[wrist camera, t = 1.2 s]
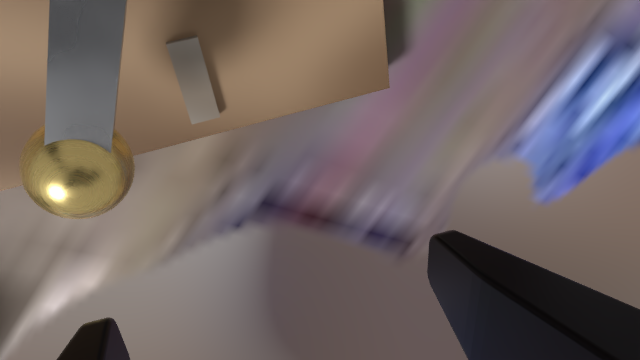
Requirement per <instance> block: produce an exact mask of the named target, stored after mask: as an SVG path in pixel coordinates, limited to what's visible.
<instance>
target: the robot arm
mask: <svg viewBox="0 0 640 360" xmlns="http://www.w3.org/2000/svg"><path fill="white" fill-rule="evenodd" d="M427 273H428V279H429V282H430V285H431V287H432V289H433V291H434V293H435V295H436V297H437V299H438V301H439V303H440V305H441V307H442V309H443V311H444V313H445V315H446V317H447V319H448V321H449V323H450V325H451V327H452V329H453V331H454V333H455V335H456V337H457V339H458V341H459V342H460V345H461V347H462V349H463V351H464V352H465V354H466V356H467V358H468V360H640V309H638V308H635V307H633V306H631V305H628V304H625V303H624V302H621V301H619V300H617V299H614V298H612V297H610V296H607V295H605V294H603V293H600V292H598V291H595V290H593V289H591V288H588V287H586V286H584V285H582V284H579V283H577V282H575V281H572V280H570V279H568V278H565V277H563V276H561V275H558V274H556V273H553V272H551V271H549V270H547V269H544V268H542V267H540V266H537V265H535V264H533V263H530V262H528V261H526V260H523V259H521V258H519V257H516V256H514V255H512V254H509V253H507V252H504V251H502V250H500V249H498V248H495V247H493V246H491V245H488V244H486V243H484V242H481V241H479V240H477V239H474V238H472V237H470V236H467V235H465V234H463V233H460V232H458V231H455V230H451V231H446V232H442V233H438V234H435V235H433V236H432V237H431V239H430V242H429V255H428V270H427ZM57 360H130V357H129V354H128V351H127V349H126V346H125V344H124V341H123V338H122V336H121V333H120V331H119V328H118V326H117V324H116V322H115V321H114V319H112V318H104V319H100V320H96V321H92V322H88V323H86V324H84V325H82V326H81V327H80V328H79V329H78V331H77V332H76V334H75V335H74V336H73V338H72V339H71V340H70V342H69V343H68V345H67V346H66V348H65V349H64V350H63V352H62V353H61V354H60V356H59V357H58V358H57Z"/></svg>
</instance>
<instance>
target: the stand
mask: <svg viewBox="0 0 640 360" xmlns="http://www.w3.org/2000/svg"><path fill="white" fill-rule="evenodd" d="M49 2H50V0H0V191H2V190H6V189H10V188H14V187H17V186H21V185H23V184H22V181H21V178H20V172H19V162H20V156H21V153H22V150H23V148H24V145H25V144H26V142H27V141H28V139H29V138H30V136H31V135H32V134H33V133H34V132H35V131H36V130H38V129H39V128H40V127H42V126H43V125H45V112H46V84H47V57H48V29H49ZM387 88H389V74H388V61H387V47H386V34H385V20H384V7H383V0H127V9H126V19H125V29H124V39H123V49H122V59H121V69H120V79H119V89H118V99H117V109H116V119H115V130H116V131H117V132H119V133H120V134H121V135H122V137H123V138H124V139H125V140H126V142H127V143H128V145H129V147H130V149H131V152H132V154H133V156H134V155H138V154H142V153H146V152H149V151H153V150H157V149H161V148H164V147H168V146H172V145H176V144H179V143H183V142H187V141H191V140H195V139H198V138H202V137H206V136H210V135H213V134H217V133H221V132H225V131H228V130H232V129H236V128H240V127H244V126H247V125H251V124H255V123H259V122H262V121H266V120H270V119H274V118H277V117H281V116H285V115H289V114H293V113H296V112H300V111H304V110H308V109H311V108H315V107H319V106H323V105H326V104H330V103H334V102H338V101H342V100H345V99H349V98H353V97H357V96H360V95H364V94H368V93H372V92H375V91H379V90H383V89H387Z"/></svg>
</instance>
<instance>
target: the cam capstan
mask: <svg viewBox="0 0 640 360" xmlns="http://www.w3.org/2000/svg"><path fill="white" fill-rule="evenodd" d="M126 9H127V0H50V2H49V29H48V57H47V84H46V112H45V125H43V126H42V127H40V128H39V129H38V130H36V131H35V132H34V133H33V134H32V135H31V136H30V138H29V139H28V141H27V142H26V144H25V145H24V148H23V150H22V153H21V156H20V162H19V172H20V178H21V181H22V184H23V186H24V189H25V190H26V192H27V194H28V195H29V196H30V198H31V199H32V200H33V201H34V202H35V203H36V204H37V205H38V206H40V207H41V208H42V209H44V210H46V211H47V212H49V213H51V214H54V215H56V216H60V217H64V218H69V219H87V218H92V217H96V216H99V215H101V214H104V213H106V212H108V211H109V210H111V209H113V208H114V207H115V206H117V205H118V204H119V203H120V202H121V201H122V200H123V198H124V197H125V196H126V194H127V193H128V191H129V189H130V187H131V185H132V182H133V177H134V171H135V166H134V158H133V154H132V152H131V149H130V147H129V145H128V143H127V142H126V140H125V139H124V138H123V137H122V135H121V134H120V133H119V132H117V131H116V130H115V119H116V109H117V99H118V89H119V79H120V69H121V59H122V49H123V39H124V29H125V19H126Z"/></svg>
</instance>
